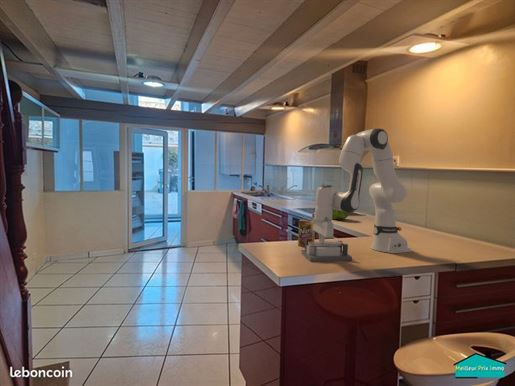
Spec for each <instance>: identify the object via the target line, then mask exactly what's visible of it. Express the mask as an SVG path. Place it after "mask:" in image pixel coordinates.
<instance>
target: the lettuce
mask: <svg viewBox="0 0 515 386" xmlns="http://www.w3.org/2000/svg"><path fill="white" fill-rule="evenodd" d="M332 210H333V212H332V220H335V219H337V220H336V221H341V220H342V221H343V220H345V219H347V218H348V216H349V214H350V213H347V212H344V211H340V210H335V209H332Z"/></svg>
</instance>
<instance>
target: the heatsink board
mask: <svg viewBox="0 0 515 386" xmlns="http://www.w3.org/2000/svg"><path fill="white" fill-rule="evenodd" d="M308 241H312V239H311V238H305V247H304V249H301V255H302V256H303V257H304V258H305V259H307V260H308V261H309V262H331V261H332V262H340V261H341V262H342V261H343V262H345V261H346V262H347V261H352V260H353V258H352V257H353V256H352V255H350V254H348V252H349V244H348V243H343V241H342V240H337V242H342V243H343V246H309V245H308Z"/></svg>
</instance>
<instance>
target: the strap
mask: <svg viewBox="0 0 515 386" xmlns="http://www.w3.org/2000/svg"><path fill="white" fill-rule="evenodd" d="M343 244H344V242H343V241H342V242H338V241H325V242H324V243H320V242H319V241H314V242H312V241H308V245H309V246H342V247H343Z"/></svg>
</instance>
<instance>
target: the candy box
mask: <svg viewBox="0 0 515 386" xmlns="http://www.w3.org/2000/svg"><path fill="white" fill-rule="evenodd" d="M312 221H313V220H306V219H300V220H298V235H297V236H298V237H297V238H298V239H297V240H298V241H297V246H300V247H304V248H305V238H311V239H312V242H315V239H316V238H315V233H316V232H315V231H314V230H313V227H312Z"/></svg>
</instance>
